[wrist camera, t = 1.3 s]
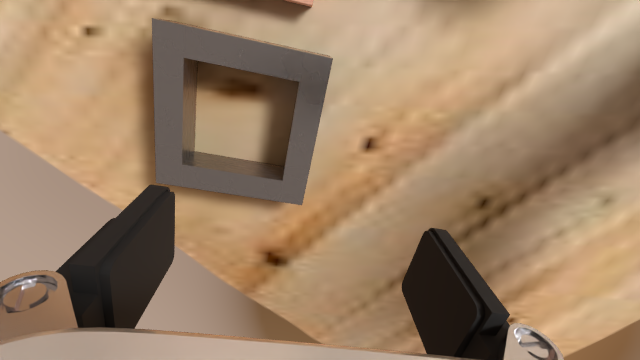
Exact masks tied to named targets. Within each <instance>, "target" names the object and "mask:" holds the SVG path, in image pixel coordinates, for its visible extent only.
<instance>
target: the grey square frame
mask: <svg viewBox="0 0 640 360" xmlns="http://www.w3.org/2000/svg"><path fill="white" fill-rule="evenodd" d="M152 40H153V81H154V121H155V162H156V183H161V184H167V185H174V186H180V187H187V188H194V189H200V190H207V191H213V192H220V193H226V194H233V195H239V196H246V197H252V198H259V199H265V200H272V201H278V202H285V203H291V204H298V205H302V203H303V198H304V193H305V189H306V184H307V179H308V174H309V170H310V165H311V160H312V155H313V151H314V146H315V141H316V136H317V131H318V127H319V122H320V117H321V112H322V108H323V103H324V98H325V93H326V89H327V84H328V79H329V74H330V70H331V65H332V60H333V58H331V57H330V56H327V55H322V54H318V53H313V52H309V51H305V50H300V49H296V48H291V47H287V46H282V45H278V44H273V43H269V42H264V41H260V40H255V39H251V38H246V37H242V36H237V35H233V34H229V33H224V32H220V31H215V30H211V29H206V28H202V27H197V26H193V25H188V24H184V23H179V22H175V21H170V20H162V19H154V18H152ZM197 61H202V62H207V63H211V64H216V65H221V66H226V67H231V68H235V69H240V70H245V71H250V72H255V73H259V74H264V75H269V76H274V77H279V78H283V79H288V80H293V81H298V82H299V85H298V91H297V97H296V103H295V108H294V114H293V120H292V126H291V132H290V138H289V143H288V149H287V155H286V161H285V167H283V166H277V165H272V164H266V163H260V162H254V161H248V160H242V159H236V158H230V157H224V156H218V155H213V154H207V153H201V152H195V151H194V148H195V118H196V88H197Z"/></svg>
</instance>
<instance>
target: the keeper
mask: <svg viewBox="0 0 640 360" xmlns="http://www.w3.org/2000/svg"><path fill="white" fill-rule="evenodd" d="M285 1H289V2H293V3H297V4H301V5H305V6H309V7H312V5H313V0H285Z"/></svg>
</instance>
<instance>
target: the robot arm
mask: <svg viewBox="0 0 640 360" xmlns="http://www.w3.org/2000/svg"><path fill="white" fill-rule="evenodd" d="M174 238H175V194H174V192H170V189H169V188H168V187H163V186H157V185H149V186H148V187H147V188H146V189H145V190H144V191H143V192H142V193H141V194H140V195H139V196H138V197H137V198H136V199H135V200H134V201H133V202H132V203H131V204H129V205H128V206H127V207H126V208H125V209H124V210H123V211H122V212H121V213H120V214H119V216H117V217H116V218H113V219H111V220H110V221H108V222H107V223H106V224H105V225H104V226H103V227H102V228H101V229H100V230H99V231H98V232H97V233H96V234H95V235H94V236H93V237H92V238H90V239H89V240H88V241H87V242H86V243H85V244H84V245H83V246H82V247H81V248H80V249H79V250H78V251H77V252H76V253H75V254H74V255H73V256H71V257H70V258H69V259H68V260H67V261H66V262H65V263H64V264H63V265H62V266H61V267H60V268H59V269H58V270H57V271H56V272H54V271H48V270H42V271H31V272H26V273H22V274H19V275H16V276H13V277H10V278H8V279H6V280H4V281H2V282H0V360H564V358H563V355H562V354H561V352H560V350H559V349H558V347H557V346H556V345H555V344H554V343H553V342H552V341H551V340H550V339H549V338H548V337H546V336H545V335H544V334H542V333H541V332H539V331H538V330H536V329H534V328H532V327H530V326H528V325H525V324H521V323H514V324H511V325H509V324H508V322H507V321H506V320H507V318H508V317H509V315H510V314H509V313H508V311H507V310H506V309H505V307H504V306H503V305H502V303H501V302H500V301H499V299H498V298H497V297H496V295H495V294H494V293H493V291H492V290H491V289H490V287H489V286H488V285H487V283H486V282H485V281H484V279H483V278H482V277H481V275H480V274H479V273H478V271H477V270H476V269H475V267H474V266H473V265H472V263H471V262H470V261H469V259H468V258H467V257H466V255H465V254H464V253H463V251H462V250H461V249H460V247H459V246H458V245H457V244H456V242H455V241H454V240H453V238H452V237H451V236H450V234H449V233H448V232H447V231H446V230H442V229H435V228H430V229H429V230H428V231H425V232H424V233H423V236H422V238H421V240H420V243H419V245H418V247H417V250H416V252H415V254H414V257H413V259H412V261H411V263H410V266H409V268H408V270H407V273H406V275H405V277H404V280H403V282H402V292H403V294H404V297H405V299H406V302H407V305H408V307H409V310H410V312H411V315H412V317H413V320H414V322H415V325H416V327H417V330H418V332H419V335H420V337H421V340H422V342H423V345H424V347H425V350H426V353H427V354H420V353H410V352H400V351H390V350H379V349H369V348H358V347H347V346H337V345H326V344H315V343H303V342H292V341H281V340H270V339H258V338H246V337H235V336H223V335H212V334H200V333H188V332H173V331H160V330H145V329H134V328H135V326H136V325H137V323H138V321H139V319H140V318H141V316H142V314H143V312H144V311H145V309H146V307H147V305H148V304H149V302H150V300H151V298H152V297H153V295H154V293H155V291H156V290H157V288H158V286H159V285H160V283H161V281H162V279H163V278H164V276H165V274H166V272H167V271H168V269H169V267H170V265H171V264H172V261H173V258H174Z"/></svg>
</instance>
